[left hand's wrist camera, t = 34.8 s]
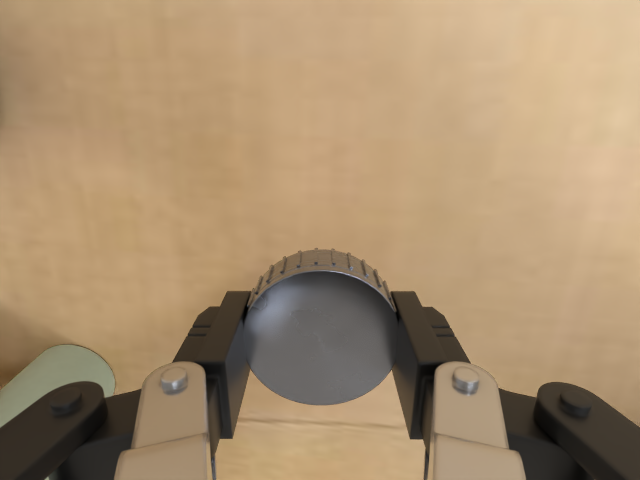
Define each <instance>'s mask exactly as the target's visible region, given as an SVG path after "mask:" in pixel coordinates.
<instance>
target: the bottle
mask: <svg viewBox="0 0 640 480" xmlns="http://www.w3.org/2000/svg"><path fill="white" fill-rule="evenodd" d="M79 381H91V382H95V383H98V384H99V385H101V387H102V388H103V391H104V395H105V397H110V396H112V395H113V393H114V390H115V379H114V375H113V372H112V370H111V368H110V367H109V365H108V364H107V363H106V362H105V361H104V360H103V359H102V358H101V357H100V356H99V355H97V354H96V353H94V352H92V351H91V350H89V349H86V348H84V347H80V346H76V345H57V346H53V347H51V348H48V349H47V350H45V351H44V352H42V353H41V354H40V355H39V356H38V357H37V358H36V359H34V360H33V361H32V362H31V363H30V364H29V365H28V366H27V367H25V368H24V369H23V370H22V371H21V372H20V373H19V374H18V375H16V376H15V377H14V378H13V379H12V380H11V381H10V382H9V383H7V384H6V385H5V386H4V387H3V388H2V389H1V390H0V427H2V426H3V425H4V424H6V423H7V422H8V421H10V420H11V419H13V418H14V417H15V416H17V415H18V414H19V413H21V412H22V411H23V410H25V409H26V408H27V407H29V406H30V405H31V404H33V403H34V402H36V401H37V400H38V399H40V398H41V397H42V396H44V395H45V394H47V393H48V392H50V391H52V390H54V389H56V388H58V387H60V386H63V385H66V384H69V383H73V382H79ZM45 480H49V478H48V477H47V478H46V479H45Z"/></svg>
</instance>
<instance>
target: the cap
mask: <svg viewBox="0 0 640 480" xmlns="http://www.w3.org/2000/svg"><path fill="white" fill-rule="evenodd" d="M247 308H248V310H247V313H246V316H245V319H244V338H245V351H246V360H247V363H248V365H249V367H250V368H251V370H252V372H253V373H254V374H255V376H256V377H257V378H258V379H259V380H260V381H261V382H262V383H263V384H264V385H265V386H266V387H268V388H269V389H270V390H271V391H273V392H275V393H276V394H278V395H280V396H282V397H284V398H287V399H289V400H292V401H295V402H298V403H303V404H309V405H333V404H339V403H344V402H347V401H350V400H353V399H356V398H358V397H360V396H362V395H364V394H366V393H368V392H369V391H371V390H372V389H374V388H375V387H376V386H377V385H379V384H380V383H381V382H382V381H383V380H384V379H385V377H386V376H387V375H388V374H389V372H390V371H391V369H392V367H393V366H394V364H395V362H396V351H397V339H398V327H399V320H398V317H397V314H396V308H395V305H394V302H393V300H392V297H391V294H390V292H389V289H388V286H387V283H386V281H383V280H382V279H381V278H380V276H379V275H378V272H377V270H376V269H374V270H373V269H372V268H371V267H370V266H369V265H367V264H366V263H365V260H362V261H361V260H359V259H358V258H356V257H354V256H351V253H347V254H346V253H342V252H338V251H335V250H334V249H331V250H318V248H315V250H310V251H304V252H301V251H298V253H296V254H294V255H291V256H289V257H287V258H286V256H285V257H283V260H281V261H279V262H278V263H277V264H275V265H274V266H273V265H271V266H270V268H269V270H268V271H267V272H266V273H265V274H264V276H260V278H259V281H258V284H257V286H256V288H255V289H254V288H253V290H252V292H251V295H250V298H249V301H248V304H247Z"/></svg>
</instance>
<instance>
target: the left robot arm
mask: <svg viewBox="0 0 640 480" xmlns="http://www.w3.org/2000/svg"><path fill="white" fill-rule="evenodd" d="M390 294H391V297H392V300H393V302H394V305H395V308H396V314H397V317H398V320H399V327H398V339H397V351H396V362H395V364H394V366H393V367H392V372H393V376H394V380H395V384H396V387H397V391H398V395H399V399H400V403H401V407H402V410H403V414H404V418H405V422H406V426H407V429H408V433H409V437H410V439H423V441H424V444H425V447H426V449H425V457H424V468H423V480H640V427H638V426H637V425H636V424H634V423H633V422H632V421H630V420H629V419H627V418H626V417H625V416H623V415H622V414H621V413H619V412H618V411H617V410H615V409H614V408H613V407H611V406H610V405H609V404H607V403H606V402H604V401H603V400H602V399H600V398H599V397H598V396H596V395H595V394H593V393H591V392H589V391H588V390H585V389H583V388H581V387H578V386H575V385H572V384H568V383H562V382H551V383H546V384H544V385H542V386H541V387H540V388H539V390H538V394H537V398H535V397H531V396H526V395H522V394H517V393H513V392H509V391H505V390H502V389H500V388H498V385H497V382H496V381H495V379H494V378H493V377H492V376H491V375H490V374H489V373H488V372H487V371H485V370H484V369H482V368H480V367H478V366H476V365H473V364H471V363H470V361H469V359H468V358H467V356H466V354H465V352H464V350H463V349H462V347H461V345H460V343H459V342H458V340H457V338H456V337H455V336H454V333H453V331H452V329H451V328H450V326H449V324H448V322H447V320H446V319H445V317H444V316H443V315H442V314H441V313H439V312H438V311H437V310H435V309H434V308H433V307H422V305H421V303H420V301H419V299H418V297H417V295H416V293H415V292H414V291H391V292H390ZM250 295H251V291H228V292H227V293H226V295H225V297H224V299H223V301H222V303H221V306H220V307H209V308H208V309H206V310H205V311H204V312H202V313H201V314H200V315H198V317H197V319H196V321H195V322H194V324H193V328H191V330H190V331H189V333H188V336H187V337H186V339H185V340H184V342H183V344H182V346H181V347H180V349H179V351H178V353H177V355H176V356H175V358H174V360H173V362H172V363H170V364H167V365H164V366H162V367H160V368H158V369H156V370H155V371H153V372H152V373H151V374H150V375H149V376H148V377H147V378H146V379H145V381H144V382H143V385H142V389H139V390H136V391H132V392H128V393H123V394H119V395H114V396H110V397H105V395H104V391H103V388H102V387H101V385H99V384H98V383H95V382H91V381H79V382H73V383H69V384H66V385H63V386H60V387H58V388H56V389H54V390H52V391H50V392H48V393H47V394H45V395H44V396H42V397H41V398H40V399H38V400H37V401H36V402H34V403H33V404H31V405H30V406H29V407H27V408H26V409H25V410H23V411H22V412H21V413H19V414H18V415H17V416H15V417H14V418H13V419H11V420H10V421H8V422H7V423H6V424H4V425H3V426H2V427H0V480H45V479H46V478H47V477H48V478H49V480H217V468H216V457H215V452H216V450H217V446H218V443H219V439H233V435H234V431H235V427H236V423H237V419H238V415H239V411H240V407H241V403H242V399H243V395H244V392H245V388H246V384H247V380H248V376H249V372H250V367H249V365H248V363H247V360H246V351H245V338H244V319H245V316H246V313H247V310H248V308H247V304H248V301H249V298H250Z"/></svg>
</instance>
